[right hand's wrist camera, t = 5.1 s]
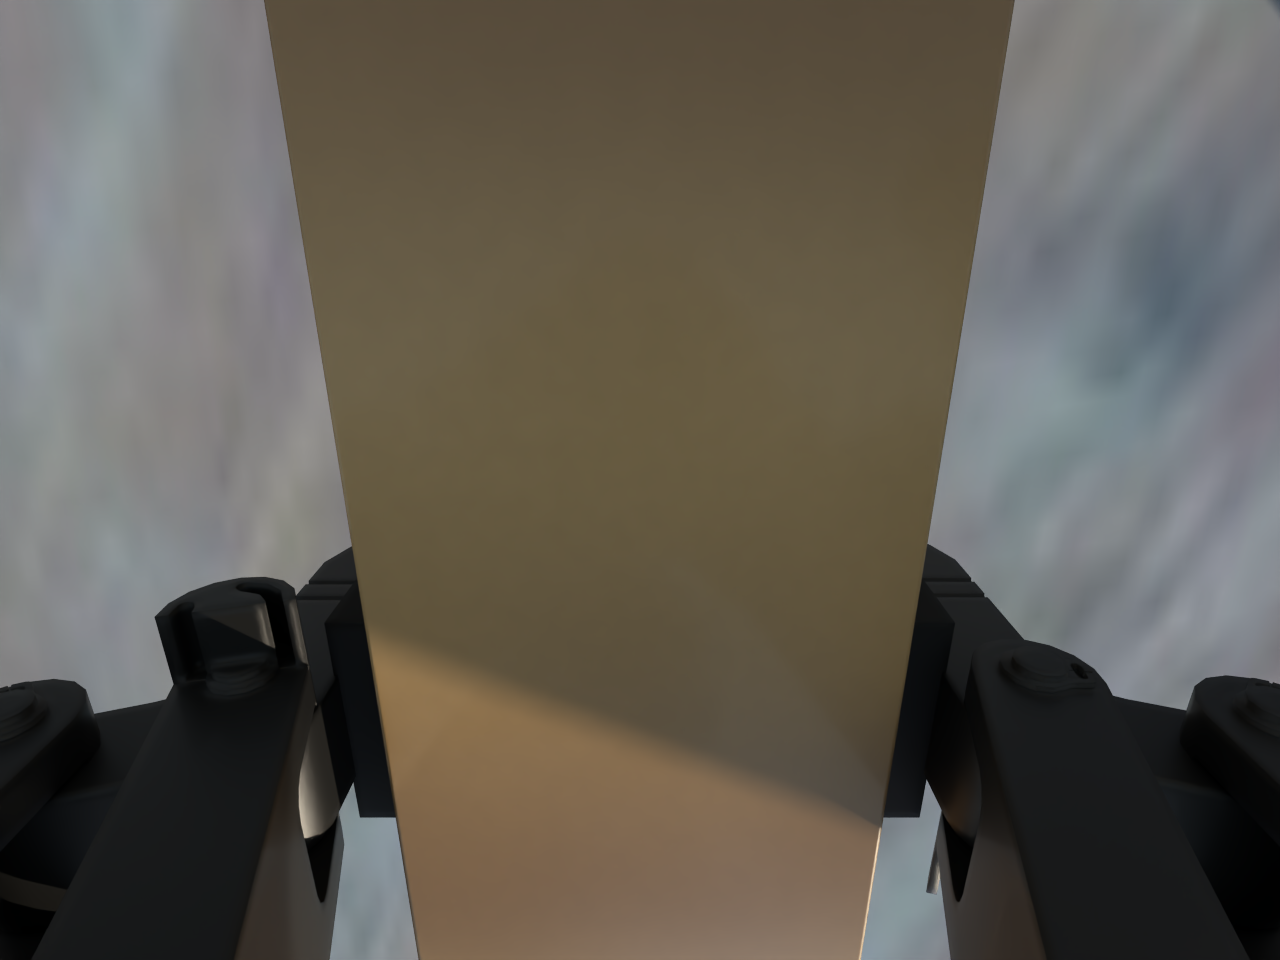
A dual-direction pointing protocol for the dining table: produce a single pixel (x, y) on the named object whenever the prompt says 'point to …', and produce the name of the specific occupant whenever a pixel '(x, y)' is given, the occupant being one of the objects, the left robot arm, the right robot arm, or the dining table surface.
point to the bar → (639, 438)
